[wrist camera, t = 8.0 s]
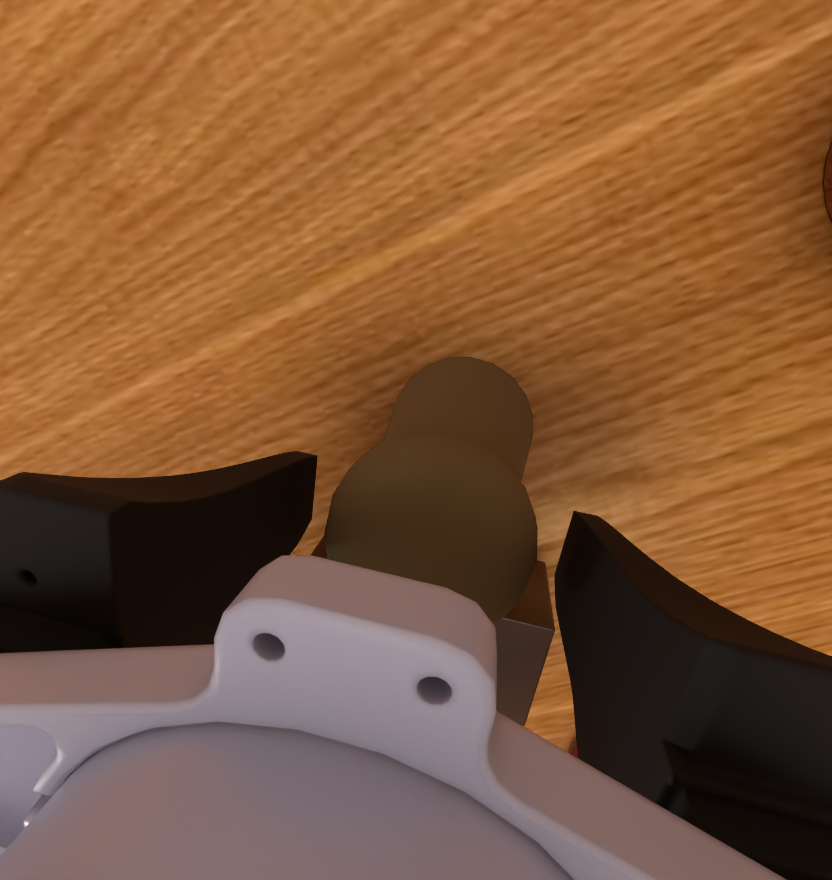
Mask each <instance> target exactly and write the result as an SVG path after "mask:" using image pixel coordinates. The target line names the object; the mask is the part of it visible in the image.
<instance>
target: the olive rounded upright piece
mask: <svg viewBox="0 0 832 880" xmlns="http://www.w3.org/2000/svg"><path fill="white" fill-rule="evenodd" d="M532 422H533V415H532V412H531V409H530V406H529V403H528V400H527V397H526V395H525V393H524V392H523V391H522V389H521V388H520V387H519V385H518V384H517V383H516V381H515V380H514V379H513V377H512V376H510V375H509V374H507V373H506V372H504V371H503V370H501V369H500V368H498V367H497V366H496V365H494V364H492V363H489V362H485V361H482V360H478V359H475V358H471V357H462V358H446V359H443V360H441V361H438V362H435V363H432V364H430V365H427V366H425V367H424V368H423V369H422V370H420V371H419V372H418V373H417V374H415V375H414V376H413V377H412V378H410V379H409V380H408V382H407V384H406V385H405V387H404V388H403V390H402V391H401V393H400V394H399V396H398V398H397V401H396V404H395V407H394V411H393V414H392V417H391V420H390V423H389V426H388V430H387V433H386V436H385V439H384V442H381V443H379V444H378V445H377V446H375V447H374V448H373V449H371V450H370V451H369V452H367V453H366V454H365V455H363V456H362V457H361V458H359V459H358V460H357V461H356V462H355V463H354V464H353V465H352V466H351V468H350V469H349V470H348V472H347V473H346V475H345V476H344V478H343V479H342V481H341V483H340V484H339V486H338V487H337V489H336V490H335V492H334V493H333V497H332V501H331V506H330V510H329V515H328V519H327V524H326V529H325V533H324V535H325V542H326V550H327V557H328V560H333V561H337V562H341V563H345V564H349V565H354V566H358V567H362V568H366V569H370V570H374V571H379V572H383V573H387V574H391V575H395V576H399V577H404V578H408V579H412V580H416V581H420V582H425V583H429V584H433V585H437V586H441V587H445V588H448V589H450V590H452V591H454V592H456V593H458V594H460V595H462V596H464V597H466V598H469V599H471V600H473V601H475V602H477V604H478V605H479V606H480V608H481V609H482V610H483V612H484V613H485V614H486V615H487V617H488V618H489V619H490V621H491V622H492V623H493V625H494V624H495V623H497V622H498V621H500V620H501V619H502V618H503V617H504V616H505V615H506V614H507V613H508V612H509V611H510V610H511V609H512V608H513V607H514V605H515V604H516V603H517V602H518V601H519V600H520V599H521V598H522V595H523V593H524V591H525V588H526V586H527V583H528V581H529V578H530V576H531V574H532V571H533V568H534V566H535V563H536V560H537V523H536V517H535V514H534V511H533V508H532V505H531V503H530V500H529V497H528V494H527V491H526V488H525V487H524V485H523V484H522V483H521V479H522V475H523V472H524V468H525V464H526V460H527V456H528V452H529V448H530V444H531V440H532Z"/></svg>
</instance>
